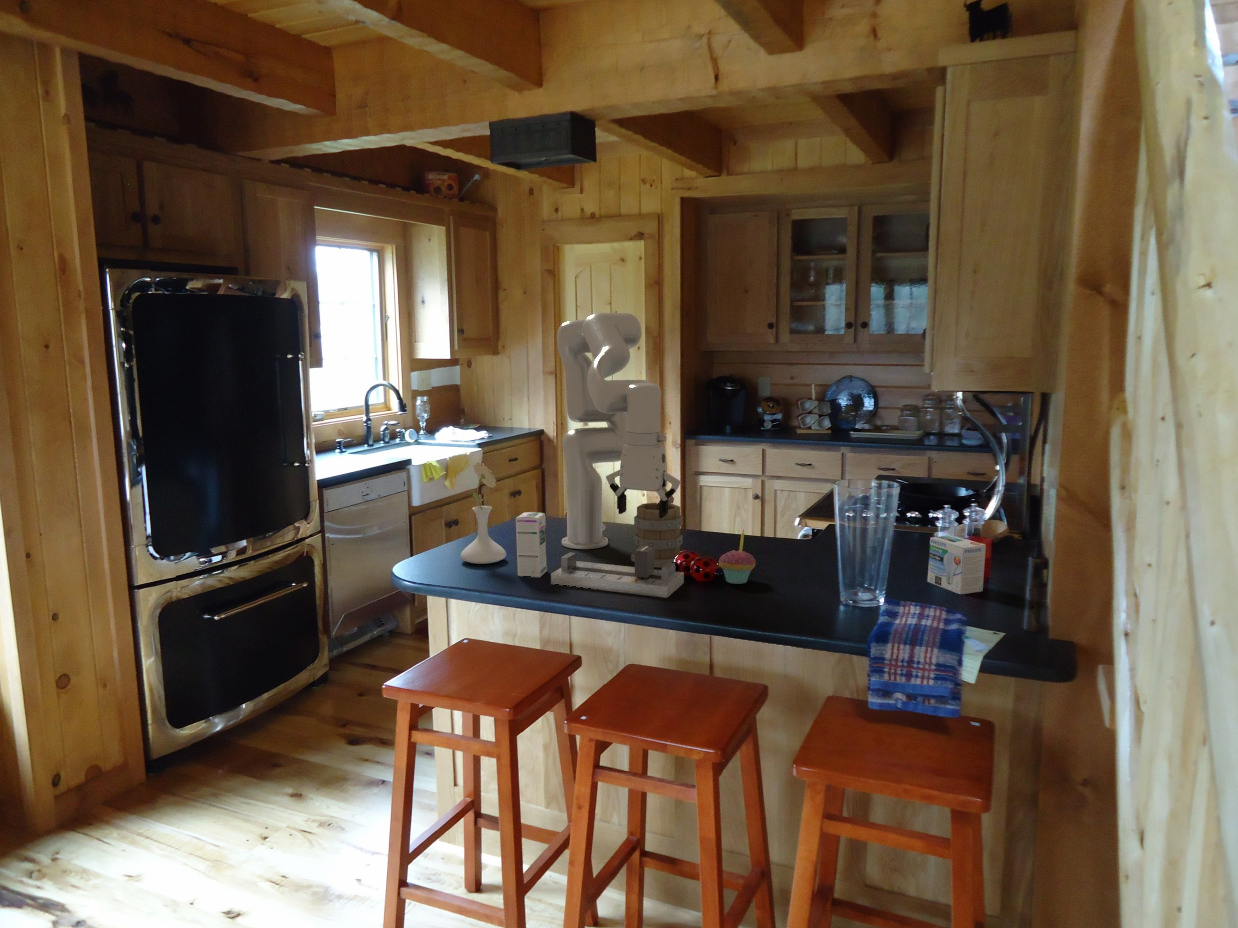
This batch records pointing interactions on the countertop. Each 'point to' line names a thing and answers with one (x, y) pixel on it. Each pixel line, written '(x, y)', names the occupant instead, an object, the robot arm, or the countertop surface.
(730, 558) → the cupcake
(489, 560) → the flower in vase
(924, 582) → the countertop surface
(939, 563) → the light bulb box
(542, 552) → the syrup box
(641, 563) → the fader
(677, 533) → the tankard
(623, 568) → the board
